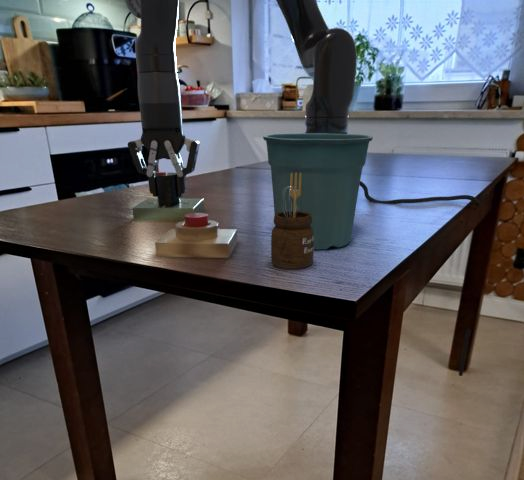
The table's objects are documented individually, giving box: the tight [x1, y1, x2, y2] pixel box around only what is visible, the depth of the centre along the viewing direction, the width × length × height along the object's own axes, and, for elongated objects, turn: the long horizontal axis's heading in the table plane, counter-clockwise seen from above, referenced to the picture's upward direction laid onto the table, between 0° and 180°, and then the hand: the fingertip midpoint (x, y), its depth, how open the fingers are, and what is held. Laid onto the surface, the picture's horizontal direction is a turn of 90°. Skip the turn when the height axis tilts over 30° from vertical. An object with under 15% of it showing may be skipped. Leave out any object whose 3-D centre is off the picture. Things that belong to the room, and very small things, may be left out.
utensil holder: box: [270, 173, 315, 271], centre depth 71 cm, size 6×6×12 cm
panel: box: [131, 197, 205, 222], centre depth 104 cm, size 12×10×3 cm
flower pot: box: [262, 132, 374, 250], centre depth 81 cm, size 16×16×16 cm
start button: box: [184, 212, 209, 227], centre depth 79 cm, size 4×4×2 cm
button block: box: [154, 219, 238, 259], centre depth 80 cm, size 11×9×4 cm
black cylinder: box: [155, 171, 181, 205], centre depth 102 cm, size 4×4×6 cm
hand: (168, 195), depth 103 cm, fingers closed on black cylinder, 4 cm apart
